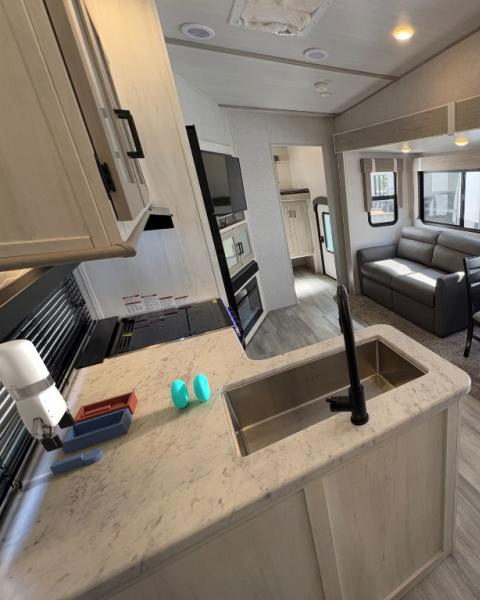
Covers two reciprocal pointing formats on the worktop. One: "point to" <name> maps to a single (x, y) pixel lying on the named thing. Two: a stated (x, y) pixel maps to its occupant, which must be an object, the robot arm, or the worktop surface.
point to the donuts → (181, 391)
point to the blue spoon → (76, 461)
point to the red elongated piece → (102, 409)
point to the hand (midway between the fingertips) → (62, 437)
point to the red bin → (127, 399)
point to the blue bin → (96, 430)
